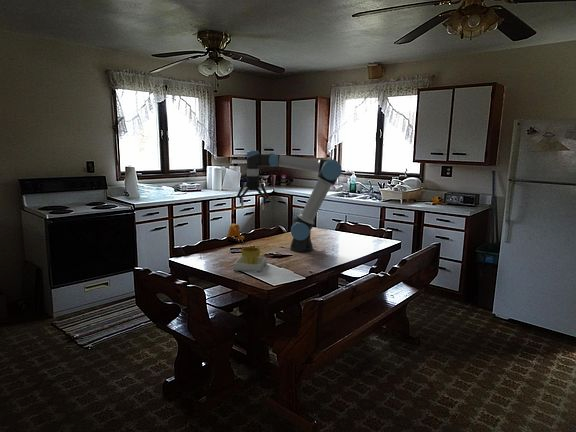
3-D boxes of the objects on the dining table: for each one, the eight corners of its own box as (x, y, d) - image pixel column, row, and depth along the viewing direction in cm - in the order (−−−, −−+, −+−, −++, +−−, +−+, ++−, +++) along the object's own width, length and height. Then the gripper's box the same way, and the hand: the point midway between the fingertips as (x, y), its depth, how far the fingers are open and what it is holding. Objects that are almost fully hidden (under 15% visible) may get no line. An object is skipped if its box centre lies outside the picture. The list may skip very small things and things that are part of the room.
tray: (266, 264, 237) (266, 257, 236) (260, 272, 222) (260, 265, 221) (240, 262, 239) (240, 255, 239) (233, 270, 224) (233, 263, 223)
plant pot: (252, 269, 224) (252, 252, 222) (238, 266, 229) (237, 249, 227) (263, 264, 232) (263, 248, 231) (249, 261, 238) (249, 245, 236)
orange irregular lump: (232, 242, 287) (232, 226, 285) (226, 240, 292) (226, 224, 290) (244, 240, 293) (244, 224, 291) (239, 238, 299) (239, 222, 297)
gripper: (273, 175, 253) (273, 208, 257) (235, 174, 257) (235, 207, 261) (271, 176, 246) (270, 210, 250) (231, 175, 250) (232, 209, 254)
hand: (252, 209), depth 255 cm, fingers open, 13 cm apart
